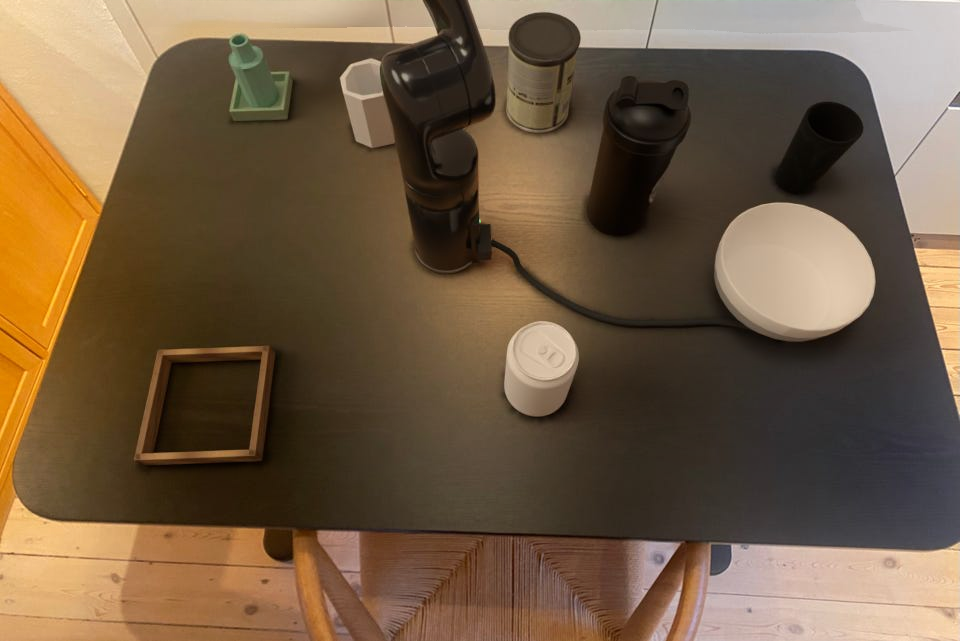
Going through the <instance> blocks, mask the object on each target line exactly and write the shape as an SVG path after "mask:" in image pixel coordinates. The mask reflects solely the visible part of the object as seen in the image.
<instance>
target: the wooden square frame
mask: <svg viewBox="0 0 960 641" xmlns="http://www.w3.org/2000/svg"><path fill="white" fill-rule="evenodd" d="M255 360H260V366H259V374H258V380H257V388H256V395H255V403H254V412H253V418H252V425H251V435H250V441H249V447H248V449H227V450H226V449H225V450H223V449H222V450H200V451H199V450H198V451H174V452H155V447H156V442H157V436H158V432H159V428H160V423H161V418H162V413H163V407H164V402H165V398H166V393H167V388H168V384H169V379H170V374H171V369H172V364H173V363H174V364H177V363H203V362H229V361H255ZM275 362H276V352H275V351H274V350H273V349H272V348H271V346H270V345H255V346H230V347H229V346H227V347H200V348H199V347H198V348H172V349H170V348H169V349H158V350H157V353H156V357H155V361H154V366H153V370H152V377H151V379H150V385H149V389H148V393H147V398H146V403H145V407H144V412H143V416H142V421H141V424H140V425H141V426H140V430H139V434H138V440H137V444H136V448H135V453H134V457H133V461H134V462H136V463H139V464H140V465H143V466H164V465H185V464H186V465H189V464H215V463H217V464H218V463H241V462H243V463H244V462H245V463H246V462H262V461H263V458H264V457H263V456H264V450H265V441H266V432H267V425H268V416H269V409H270V400H271V392H272V384H273V376H274V368H275Z"/></svg>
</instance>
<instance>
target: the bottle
mask: <svg viewBox="0 0 960 641" xmlns="http://www.w3.org/2000/svg"><path fill="white" fill-rule="evenodd" d="M228 41H229V45H230V48H231V53H229V55H228V63H229V65H230V68H231V70H232V72H233V75H234V76H235V80H236V79H237V81H238V83H239V85H240V87H241V90H242V92H243V94H244V96H245V98H246V100H247V102H248V104H249V105H250V106H251V107H253V108H268V107H271V106H272V105H274V104H275V103H276V102H277V100H278V97H279V94H278V90H277V88H276V85H275V82H274V80H273V77H272V75H271V72H272V71H271V70H270V66H269V64H268V62H267V59H266V57H265V54H264V51H263V50H262V49H261V48H260V47H259V46H256V45H252V43H251V40H250V38H249V36H248V35H246V34H245V33H236V34H233V35H232V36H231V37H229V40H228Z"/></svg>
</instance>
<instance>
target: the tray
mask: <svg viewBox="0 0 960 641" xmlns="http://www.w3.org/2000/svg"><path fill="white" fill-rule="evenodd" d="M270 72H271V75H272V77H273V80H274V82H275V85H276V88H277V90H278V94H279V97H278V100H277V102H276V103H275V104H274V105H272V106H271V107H268V108H253V107H251V106H250V105H249V104H248V102H247V100H246V98H245V96H244V94H243V92H242V90H241V87H240V85H239V83H238V81H237V79H236V78H235V80H234V85H233V90H232V94H231V100H230V104H229V109H228V112H229V114H230V117H231V119H232V120H233V122H248V121H249V122H250V121H251V122H252V121H284V120H288V118H289V112H290V104H291V97H292V90H293V82H294V80H293V78H292V75H291V72H290V71H289V70H287V71H285V70H284V71H270Z"/></svg>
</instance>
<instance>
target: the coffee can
mask: <svg viewBox="0 0 960 641" xmlns="http://www.w3.org/2000/svg"><path fill="white" fill-rule="evenodd" d="M581 36H582V35H581V32H580V29H579V28H578V26H577V24H576V23H575V22H574V21H572V20H571V19H570V18H567V17H566V16H564V15H561V14H559V13H555V12H548V11H547V12H546V11H538V12H532V13H529V14H526V15H524V16H521V17H520V18H518V19H516V20H515V22H513V23H512V25H511V26H510V28H509V31H508V62H507V64H508V65H507V89H506V92H507V93H506V105H505V112H506V116H507V118H508V119H509V121H510V122H511V123H512V124H513V125H514V126H515V127H517V128H518V129H520V130H522V131H525V132H529V133H532V134H533V133H534V134H542V133H543V134H544V133H549V132H552V131H554V130H557V129H558V128H560V127H561V126H562V125H563V124H564V123H565V122H566V120H567V118H568V115H569V108H570V101H571V95H572V89H573V82H574V76H575V71H576V64H577V58H578V52H579V51H578V50H579V49H580V44H581V40H582V39H581V38H582V37H581Z"/></svg>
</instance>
